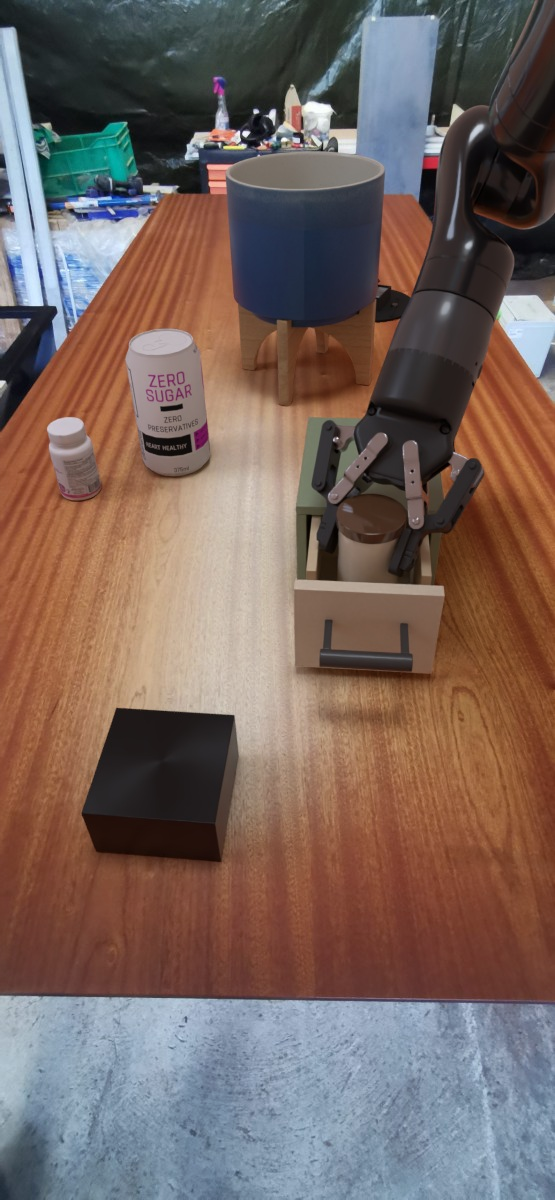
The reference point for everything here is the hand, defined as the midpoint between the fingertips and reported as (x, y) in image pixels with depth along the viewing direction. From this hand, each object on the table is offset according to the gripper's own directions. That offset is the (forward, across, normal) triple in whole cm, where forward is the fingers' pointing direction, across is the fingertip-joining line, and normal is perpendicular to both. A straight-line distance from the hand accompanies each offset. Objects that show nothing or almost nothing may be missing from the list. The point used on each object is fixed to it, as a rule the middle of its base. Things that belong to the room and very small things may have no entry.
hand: (359, 562), depth 60 cm
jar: (+2, 0, +5) cm, 5 cm away
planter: (-25, -30, +39) cm, 55 cm away
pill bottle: (+2, -39, +12) cm, 41 cm away
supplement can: (-5, -33, +19) cm, 38 cm away
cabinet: (-2, -5, +16) cm, 17 cm away
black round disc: (-45, -34, +59) cm, 81 cm away
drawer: (+5, 0, +7) cm, 9 cm away
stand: (+22, -5, -8) cm, 24 cm away
